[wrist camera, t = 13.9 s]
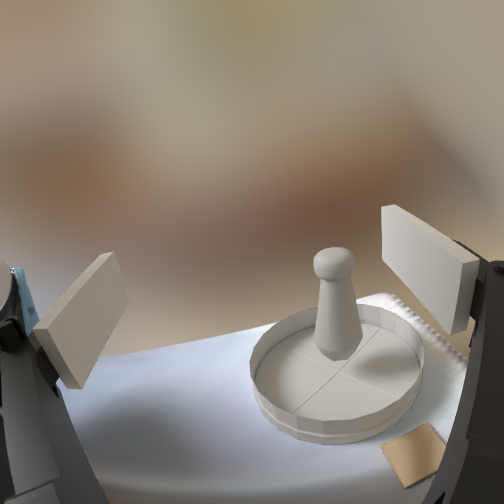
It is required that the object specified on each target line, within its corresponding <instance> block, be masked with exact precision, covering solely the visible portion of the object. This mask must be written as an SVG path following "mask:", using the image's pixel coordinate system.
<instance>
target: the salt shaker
mask: <svg viewBox="0 0 504 504" xmlns="http://www.w3.org/2000/svg"><path fill="white" fill-rule="evenodd" d="M354 269H355V261H354V257H353V254H352V253H351V252H350V251H349V250H347V249H345V248H340V247H335V248H334V247H333V248H327V249H324V250H322V251H320V252H319V253H318V254H317V255H316V256H315V257H314V270H315V273H316V275H317V276H318V277H320V278H321V285H320V296H319V304H318V312H317V319H316V326H315V333H314V341H315V344H316V345H317V347H318V348H319V350H320V351H321V353H322V354H323V355H324V356H326V357H327V358H329V359H330V360H332V361H340V360H348V359H349V358H350V357H351V356H352V355H353V354H354V352H355V351H356V350H357V348H358V346H359V344H360V342H361V340H362V337H363V332H362V327H361V322H360V318H359V313H358V308H357V304H356V299H355V295H354V290H353V286H352V281H351V278H350V275H352V273H353V272H354Z"/></svg>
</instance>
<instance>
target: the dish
mask: <svg viewBox="0 0 504 504" xmlns="http://www.w3.org/2000/svg"><path fill="white" fill-rule="evenodd" d="M357 308H358V313H359V318H360V322H361V327H362V332H363V337H362V340H361V342H360V344H359V346H358V348H357V350H356V351H355V352H354V354H353V355H352V356H351V357H350V358H349V359H348V360H340V361H332V360H330V359H329V358H327V357H326V356H324V355H323V354H322V353H321V351H320V350H319V348H318V347H317V345H316V344H315V341H314V333H315V326H316V319H317V312H318V307H314V308H310V309H307V310H304V311H301V312H299V313H296V314H293V315H291V316H289V317H287V318H285V319H283V320H282V321H280V322H278V323H276V324H275V325H274V326H273V327H271V328H270V329H269V330H268V331H267V332H266V333H264V334H263V336H262V337H261V338H260V340H259V341H258V343H257V344H256V345H255V347H254V349H253V352H252V355H251V359H250V372H251V379H252V382H253V392H254V395H255V399H256V402H257V404H258V406H259V408H260V410H261V412H262V414H263V416H264V417H265V418H266V419H267V420H268V421H269V422H270V423H271V424H273V425H274V426H275V427H276V428H277V429H278V430H280V431H282V432H284V433H286V434H288V435H290V436H292V437H294V438H296V439H298V440H302V441H307V442H312V443H317V444H322V445H330V444H349V443H354V442H357V441H360V440H364V439H367V438H370V437H373V436H376V435H378V434H379V433H381V432H383V431H385V430H386V429H388V428H389V427H391V426H393V425H394V424H396V423H397V422H398V421H399V420H400V419H401V418H402V417H403V416H404V415H405V414H406V413H407V412H408V410H409V409H410V408H411V407H412V405H413V403H414V401H415V398H416V396H417V394H418V392H419V389H420V384H421V382H422V369H423V362H424V347H423V344H422V341H421V338H420V336H419V334H418V333H417V331H416V330H415V329H414V328H413V327H412V325H411V324H410V323H409V322H407V321H406V320H404V319H403V318H401V317H400V316H399V315H397V314H395V313H393V312H390V311H388V310H385V309H383V308H379V307H375V306H370V305H365V304H357Z"/></svg>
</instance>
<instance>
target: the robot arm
mask: <svg viewBox="0 0 504 504" xmlns="http://www.w3.org/2000/svg"><path fill="white" fill-rule="evenodd" d="M381 213H382V259H383V261H384V262H385V263H386V264H387V265H388V266H389V267H390V268H391V269H392V270H393V271H394V272H395V273H396V274H397V276H398V277H399V278H400V279H401V280H402V281H403V282H404V283H405V284H406V285H407V287H409V289H410V290H411V291H412V292H413V293H414V294H415V295H416V297H418V299H419V300H420V301H421V302H422V303H423V304H424V306H425V307H426V308H427V309H428V310H429V312H430V313H431V314H432V315H433V316H434V317H435V319H436V320H437V321H438V322H439V323H440V324H441V326H442V327H443V328H444V329H445V331H446V332H447V333H448V334H449V335H450V336H451V335H454V334H456V333H460V332H462V331H465V330H466V329H467V324H468V321H469V316H471V317H472V318H473V319H474V320H475V321H476V322H475V326H474V330H473V334H472V338H471V341H470V344H469V347H471V350H470V355H469V361H468V366H467V371H466V376H465V381H464V385H463V389H462V394H461V398H460V402H459V406H458V409H457V413H456V417H455V420H454V423H453V427H452V430H451V433H450V436H449V439H448V442H447V445H446V448H445V451H444V454H443V457H442V460H441V462H440V465H439V467H438V470H437V473H436V475H435V478H434V480H433V482H432V485H431V487H430V489H429V491H428V494H427V496H426V497H425V499H424V501H423V503H422V504H504V261H492V262H490V263H489V262H488V261H487V260H485V259H484V258H482V257H481V256H479V255H478V254H476V253H475V252H473V251H472V250H471V249H469V248H467V247H466V246H465V245H463V244H462V243H460V242H458V241H455V240H452V239H450V238H448V237H447V236H445V235H443V234H442V233H440V232H439V231H437V230H436V229H434V228H433V227H431V226H429V225H428V224H426V223H424V222H423V221H421V220H420V219H418V218H416V217H415V216H413V215H411V214H410V213H408V212H407V211H405V210H403V209H401V208H400V207H398V206H396V205H390V206H383V207H381ZM130 300H131V299H130V297H129V294H128V291H127V289H126V286H125V283H124V280H123V277H122V275H121V272H120V269H119V266H118V263H117V260H116V257H115V254H114V252H110V253H105V254H101V255H100V256H99V257H98V258H97V259H96V260H95V261H94V262H93V263H92V264H91V265H90V266H89V267H88V268H87V269H86V270H85V271H84V272H83V273H82V274H81V275H80V276H79V277H78V278H77V280H76V281H75V282H74V283H73V284H72V285H71V286H70V287H69V288H68V289H67V290H66V291H65V292H64V294H63V295H62V296H61V297H60V298H59V299H58V300H57V301H56V302H55V303H54V305H53V306H52V307H51V308H50V309H49V310H48V311H47V313H46V314H45V315H44V316H43V317H42V318H41V319H40V320H39V317H38V315H37V312H36V309H35V306H34V303H33V300H32V297H31V294H30V291H29V287H28V284H27V281H26V277H25V274H24V271H23V269H22V268H20V267H18V268H12V269H11V270H10V268H9V266H8V264H7V263H6V261H5V260H4V259H2V258H1V257H0V504H110V503H109V501H108V499H107V498H106V496H105V494H104V492H103V490H102V488H101V487H100V485H99V483H98V481H97V479H96V477H95V475H94V473H93V471H92V469H91V467H90V465H89V462H88V460H87V458H86V456H85V454H84V451H83V449H82V447H81V445H80V442H79V440H78V437H77V435H76V433H75V430H74V428H73V425H72V422H71V420H70V417H69V414H68V412H67V409H66V406H65V403H64V400H63V397H62V394H61V391H60V389H59V388H58V386H57V385H56V382H57V380H58V378H59V377H60V379H61V380H62V382H63V383H64V385H65V386H66V388H69V389H82V388H83V386H84V384H85V382H86V380H87V378H88V376H89V374H90V372H91V370H92V369H93V367H94V365H95V363H96V361H97V359H98V357H99V355H100V353H101V351H102V350H103V348H104V346H105V344H106V342H107V340H108V339H109V337H110V335H111V333H112V331H113V330H114V328H115V326H116V324H117V322H118V321H119V319H120V317H121V315H122V314H123V312H124V310H125V309H126V307H127V305H128V303H129V302H130Z"/></svg>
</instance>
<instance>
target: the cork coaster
mask: <svg viewBox="0 0 504 504" xmlns="http://www.w3.org/2000/svg"><path fill="white" fill-rule="evenodd" d="M380 448H381V450H382V452H383V453H384V455H385V457H386V458H387V460H388V462H389V463H390V465H391V467H392V468H393V470H394V472H395V473H396V475H397V477H398V479H399V480H400V482H401V484H402V485H403V487H404V489H406V488H408V487H409V486H411V485H413V484H415V483H417V482H419V481H421V480H422V479H424V478H426V477H428V476H430V475H431V474H433V473H435V472H436V471H437V470H438V467H439V465H440V462H441V460H442V457H443V454H444V451H445V448H446V445H445V444H444V443H443V441H442V440H441V439H440V438H439V436H438V435H437V434H436V432H435V431H434V430H433V428H432V427H431V426H430V424H429V423H428V422H427V423H425V424H424V425H422V426H420V427H418V428H416V429H414V430H412V431H410V432H408V433H406V434H404V435H402V436H400V437H398V438H396V439H394V440H392V441H390V442H387V443H385V444H383V445H381V447H380Z"/></svg>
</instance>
